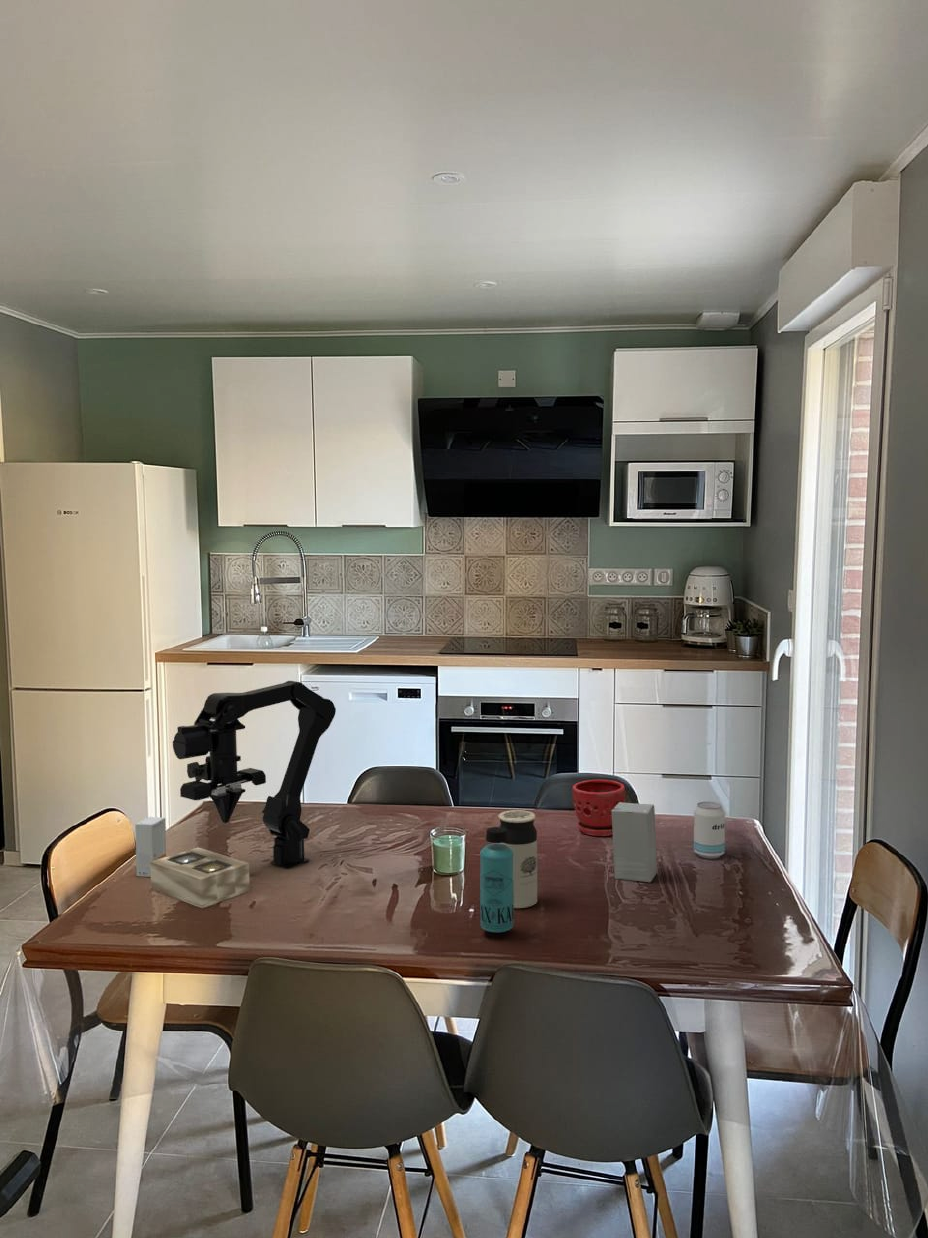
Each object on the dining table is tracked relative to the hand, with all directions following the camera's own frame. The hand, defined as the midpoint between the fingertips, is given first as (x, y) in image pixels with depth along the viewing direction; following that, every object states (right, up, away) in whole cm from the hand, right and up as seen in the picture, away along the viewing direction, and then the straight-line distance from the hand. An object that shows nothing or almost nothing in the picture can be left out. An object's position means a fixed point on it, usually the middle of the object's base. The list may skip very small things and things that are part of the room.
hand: (225, 822), depth 201 cm
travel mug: (+63, -13, -13) cm, 66 cm away
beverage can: (+109, -11, +14) cm, 110 cm away
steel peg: (-8, -13, -2) cm, 16 cm away
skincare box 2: (+89, -12, 0) cm, 90 cm away
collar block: (-4, -13, -4) cm, 15 cm away
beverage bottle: (+58, -15, -29) cm, 67 cm away
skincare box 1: (-18, -13, +7) cm, 23 cm away
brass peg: (-1, -14, -7) cm, 16 cm away
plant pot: (+86, -10, +33) cm, 93 cm away
